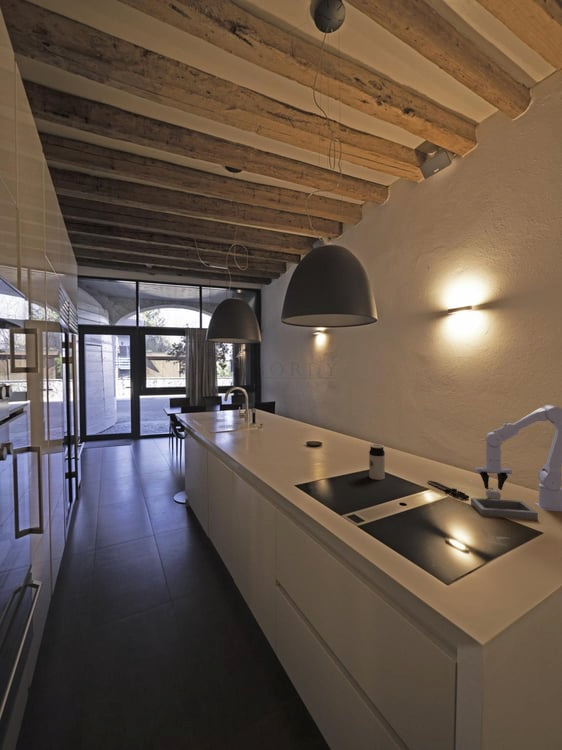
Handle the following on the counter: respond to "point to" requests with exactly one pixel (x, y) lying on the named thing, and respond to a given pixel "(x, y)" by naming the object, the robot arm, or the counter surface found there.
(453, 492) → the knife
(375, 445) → the travel mug
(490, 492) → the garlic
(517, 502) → the tray
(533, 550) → the counter surface
